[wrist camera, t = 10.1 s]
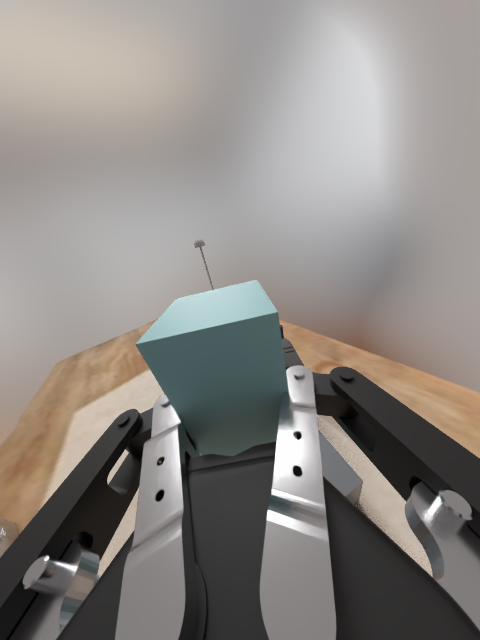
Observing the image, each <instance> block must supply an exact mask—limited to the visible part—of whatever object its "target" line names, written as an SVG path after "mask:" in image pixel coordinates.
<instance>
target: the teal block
mask: <svg viewBox="0 0 480 640" xmlns="http://www.w3.org/2000/svg"><path fill="white" fill-rule="evenodd" d="M136 346H137V348H138V349H139V351H140V353H141V354H142V356H143V358H144V360H145V361H146V363H147V365H148V366H149V368H150V370H151V371H152V373H153V375H154V376H155V378H156V380H157V381H158V383H159V385H160V386H161V388H162V390H163V391H164V393H165V395H166V396H167V398H168V400H169V402H170V403H171V405H172V407H173V408H174V410H175V412H176V413H177V414H178V413H180V414H181V415H182V417H183V419H184V425H185V428H186V430H187V432H188V433H189V435H190V437H191V438H192V439H195V440H196V441H197V443H198V447H199V452H200V454H201V455H207V454H217V455H224V456H235V455H237V454H239V453H241V452H243V451H245V450H247V449H249V448H251V447H253V446H255V445H260V444H265V443H271V442H276V441H277V434H278V425H279V415H280V406H281V404H283V397H284V392H287V391H289V388H288V381H287V374H286V367H285V360H284V353H283V345H282V338H281V331H280V324H279V317H278V311H277V310H276V308H275V307H274V305H273V304H272V302H271V301H270V299H269V298H268V296H267V295H266V293H265V291H264V290H263V288H262V287H261V285H260V284H259V282H258V281H257V280H253V281H249V282H245V283H241V284H236V285H232V286H228V287H224V288H219V289H215V290H211V291H207V292H202V293H198V294H194V295H190V296H186V297H181V298H177V299H176V300H175V301H174V302H173V303H172V304H171V305H170V307H169V308H168V309H167V310H166V311H165V312H164V313H163V314H162V315H161V317H160V318H159V319H158V320H157V321H156V322H155V323H154V324H153V325H152V326H151V328H150V329H149V330H148V331H147V332H146V333H145V334H144V335H143V336H142V337H141V339H140V340H139V341H138V342H137V343H136Z"/></svg>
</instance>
